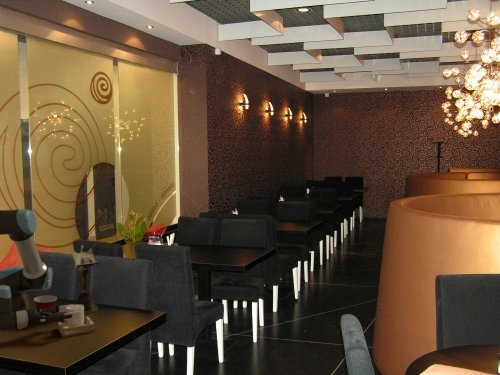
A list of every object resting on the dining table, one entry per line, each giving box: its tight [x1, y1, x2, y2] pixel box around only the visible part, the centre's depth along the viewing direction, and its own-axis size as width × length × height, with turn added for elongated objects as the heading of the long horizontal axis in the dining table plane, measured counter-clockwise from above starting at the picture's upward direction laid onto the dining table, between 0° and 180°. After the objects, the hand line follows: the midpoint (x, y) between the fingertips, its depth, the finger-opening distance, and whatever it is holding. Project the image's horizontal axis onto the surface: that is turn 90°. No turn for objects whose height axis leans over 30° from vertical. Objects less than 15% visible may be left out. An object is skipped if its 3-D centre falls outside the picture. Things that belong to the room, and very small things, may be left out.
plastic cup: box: [33, 295, 58, 325], centre depth 261 cm, size 11×11×12 cm
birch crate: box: [56, 316, 95, 338], centre depth 247 cm, size 14×14×4 cm
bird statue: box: [71, 244, 100, 315], centre depth 275 cm, size 17×13×35 cm
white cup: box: [65, 304, 85, 328], centre depth 247 cm, size 8×8×10 cm
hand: (76, 310), depth 247 cm, fingers open, 13 cm apart
